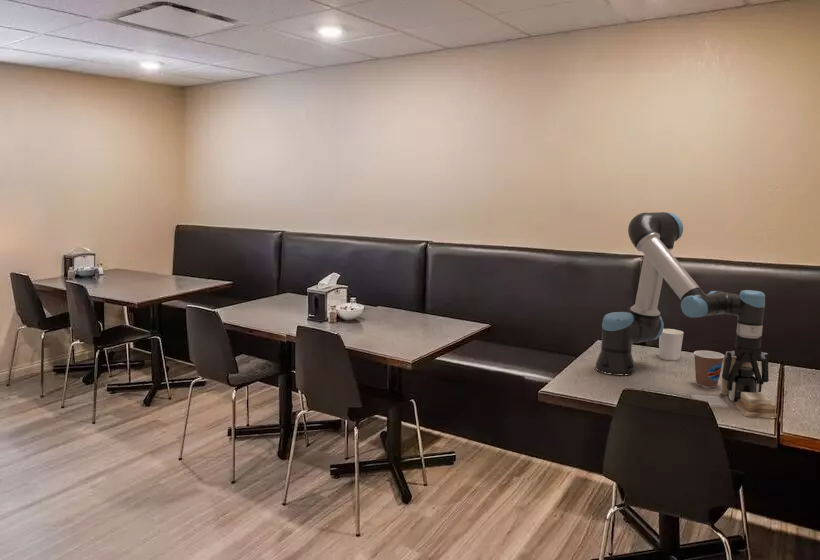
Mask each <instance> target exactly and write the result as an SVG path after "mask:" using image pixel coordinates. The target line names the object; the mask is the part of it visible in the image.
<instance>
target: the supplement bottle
mask: <svg viewBox="0 0 820 560" xmlns="http://www.w3.org/2000/svg"><path fill="white" fill-rule="evenodd" d="M734 382H735V383H736V384H735V395H734V401H733V402H735V403H738V399H741V392H752V393H755V389H756V382H757V381H756V378H755V375H754V369H753V368H750V367H743V366H741V367H740V369H739V371H738V374H737V375H736V377H735V379H734Z"/></svg>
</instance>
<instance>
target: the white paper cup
mask: <svg viewBox="0 0 820 560" xmlns="http://www.w3.org/2000/svg"><path fill="white" fill-rule="evenodd" d="M683 338H684V331H682V330H679V329H674V328H663V332H662V334H661V335H660V336H659V337H658V340H659V341H658V357H659V358H660V359H662V360H666V361H678V360H680V359H681V352H682V345H683Z"/></svg>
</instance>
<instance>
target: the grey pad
mask: <svg viewBox="0 0 820 560" xmlns="http://www.w3.org/2000/svg"><path fill="white" fill-rule="evenodd" d="M690 397H693V398H697V399H701V400H706V401H708V402H709V403H710V404H711V406H712V407H711V408H721V407H722V409H723V408H726V409H728V408H729V407H728V406H729V405H728V404H727V403H726V402H724V400H722V398H721V397H719V396H716V395H715V396H713V395H701V394H700V395H698V394H696V395H695V394H691V395H690Z"/></svg>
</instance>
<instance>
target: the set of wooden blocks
mask: <svg viewBox="0 0 820 560" xmlns="http://www.w3.org/2000/svg"><path fill="white" fill-rule="evenodd" d="M736 358H737V357H736V355H733V357H732V362H731V367H730V371H731V369H732V367H733V365H734V363H735V360H736ZM725 359H726V356H725V355H724V358H723V362H722V369H723V368H724V363H725ZM741 366H743V367H750V368H752V365H751V363H749V362H746V363H743V365H741ZM722 373H723V371H722V372H721V374H722ZM729 373H730V372H729ZM737 374H738V373H737ZM720 384H721V387H720V394H721V395H727V396H729V390H728V389H727V380H725V379H723V378H722V377H721V383H720ZM736 407H737V408H738V409H739V410H740V411H739V410H738V409H737V408H736ZM735 408H736V409H737V410H738V411H739V412H740V413H741V414H743V415H744V416H745V417H746V416H749V417H748V418H758V417H765V418H764V419H772V418H771V417H774V418H776V419H777V416H778V414H777V413H776V404H775V403H773V402H772V400H771V399H770V398H769V397H767V396H766V395H765V394H763V392H758V393H752V392H741V399H738V403H737V402H735ZM774 418H773V419H774Z"/></svg>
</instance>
